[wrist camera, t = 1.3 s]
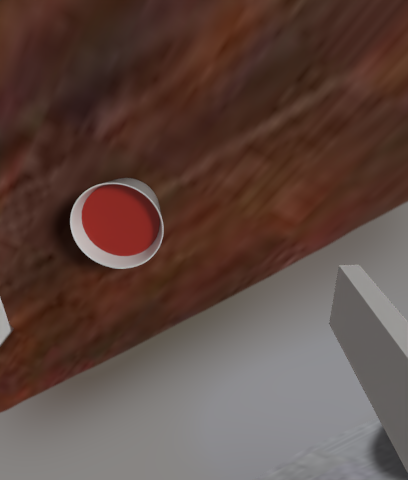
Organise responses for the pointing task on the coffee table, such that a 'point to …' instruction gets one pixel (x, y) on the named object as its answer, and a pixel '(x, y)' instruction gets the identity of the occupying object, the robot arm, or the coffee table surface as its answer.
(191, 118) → the coffee table surface
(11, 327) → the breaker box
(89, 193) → the candle
